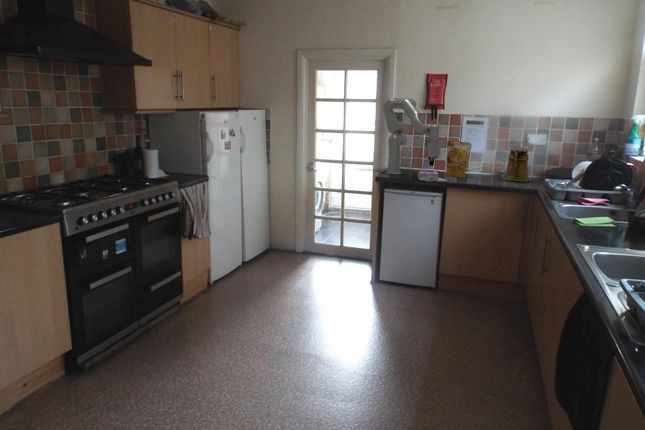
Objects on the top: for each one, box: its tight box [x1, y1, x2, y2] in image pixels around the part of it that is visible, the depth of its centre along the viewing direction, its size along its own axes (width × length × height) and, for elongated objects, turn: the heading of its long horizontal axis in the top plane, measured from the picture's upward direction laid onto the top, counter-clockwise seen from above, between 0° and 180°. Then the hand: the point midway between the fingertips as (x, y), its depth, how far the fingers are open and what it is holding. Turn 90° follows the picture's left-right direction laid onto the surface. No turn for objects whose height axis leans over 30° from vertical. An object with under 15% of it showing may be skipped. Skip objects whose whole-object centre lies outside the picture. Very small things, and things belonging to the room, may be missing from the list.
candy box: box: [417, 169, 439, 182], centre depth 366 cm, size 14×6×16 cm
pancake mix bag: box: [445, 140, 472, 179], centre depth 381 cm, size 7×19×28 cm, turn 53°
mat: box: [418, 176, 449, 183], centre depth 367 cm, size 14×18×1 cm
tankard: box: [503, 147, 530, 183], centre depth 368 cm, size 18×24×25 cm
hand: (431, 165), depth 369 cm, fingers closed
